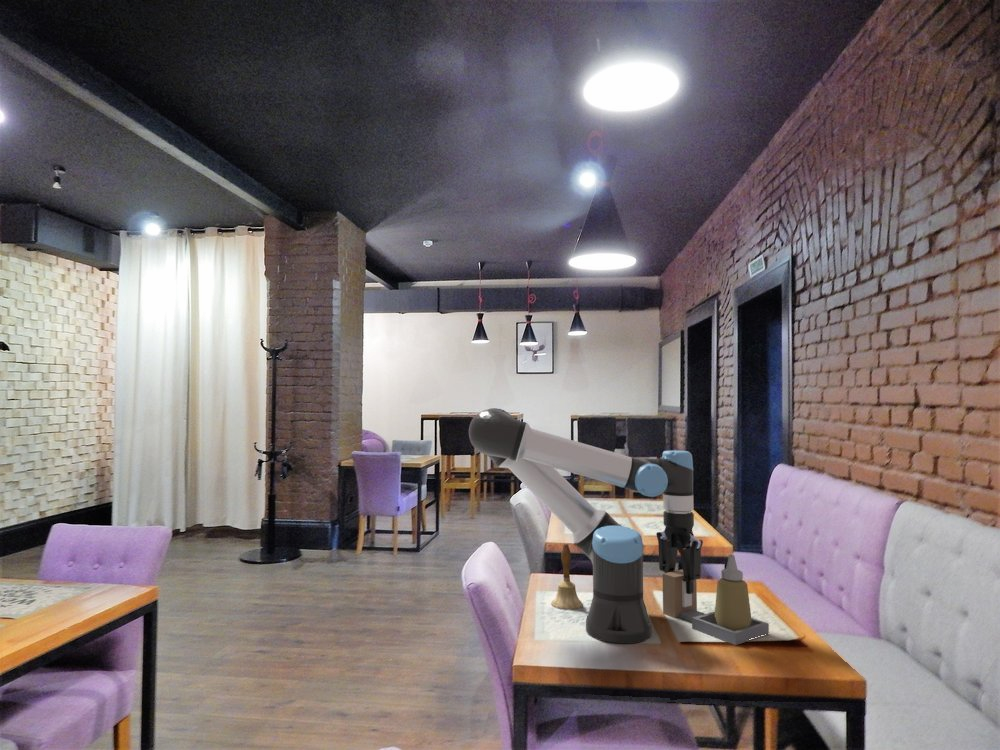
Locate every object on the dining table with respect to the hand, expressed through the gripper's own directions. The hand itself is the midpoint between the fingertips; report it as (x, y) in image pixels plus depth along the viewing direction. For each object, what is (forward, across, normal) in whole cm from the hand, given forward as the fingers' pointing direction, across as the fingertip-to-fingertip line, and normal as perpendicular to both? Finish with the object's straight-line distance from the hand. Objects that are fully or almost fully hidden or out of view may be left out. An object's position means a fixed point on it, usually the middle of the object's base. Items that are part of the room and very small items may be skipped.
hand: (679, 603), depth 155 cm
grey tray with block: (+2, -9, 0) cm, 10 cm away
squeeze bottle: (+3, -16, 0) cm, 16 cm away
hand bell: (+3, +21, +20) cm, 29 cm away
